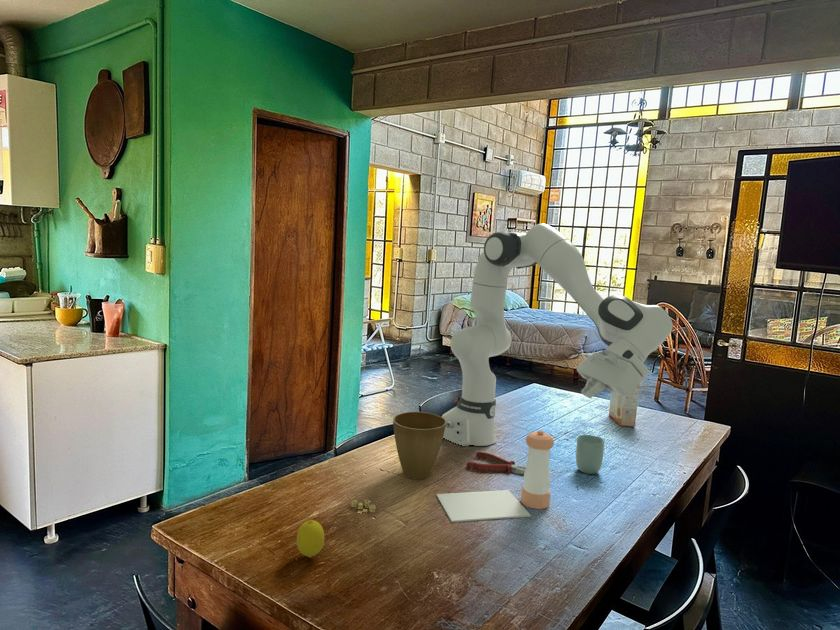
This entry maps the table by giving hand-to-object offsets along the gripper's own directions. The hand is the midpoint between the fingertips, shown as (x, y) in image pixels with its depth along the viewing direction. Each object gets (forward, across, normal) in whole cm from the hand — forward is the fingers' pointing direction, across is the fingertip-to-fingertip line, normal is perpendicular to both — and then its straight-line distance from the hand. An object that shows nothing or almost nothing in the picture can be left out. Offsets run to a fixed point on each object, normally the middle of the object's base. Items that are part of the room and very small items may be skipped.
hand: (585, 395), depth 141 cm
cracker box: (-18, -61, +58) cm, 86 cm away
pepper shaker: (+28, 0, +12) cm, 31 cm away
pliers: (+30, -22, +11) cm, 39 cm away
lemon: (+69, +16, -29) cm, 77 cm away
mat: (+38, 0, +2) cm, 38 cm away
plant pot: (+47, -21, -7) cm, 52 cm away
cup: (+11, -17, +30) cm, 36 cm away
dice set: (+60, -3, -19) cm, 63 cm away
